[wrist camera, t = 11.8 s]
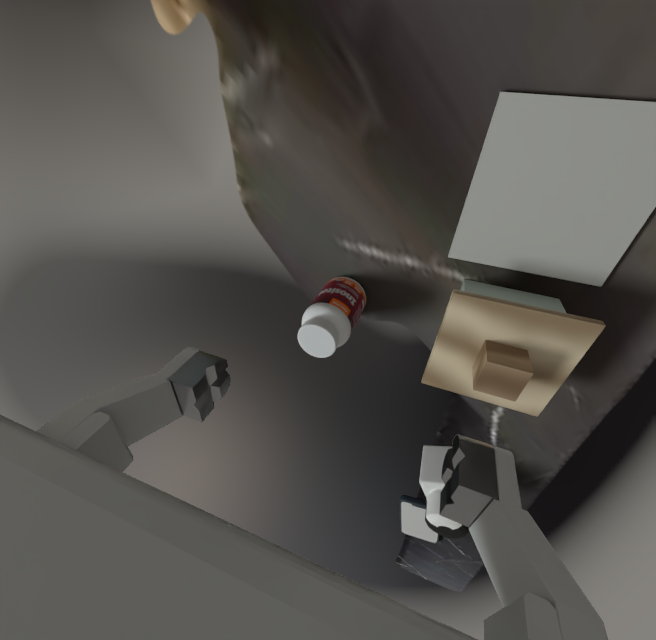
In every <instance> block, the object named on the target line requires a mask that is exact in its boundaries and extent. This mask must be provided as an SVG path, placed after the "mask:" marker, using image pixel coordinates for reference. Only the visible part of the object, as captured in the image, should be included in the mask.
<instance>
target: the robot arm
mask: <svg viewBox="0 0 656 640" xmlns="http://www.w3.org/2000/svg"><path fill="white" fill-rule="evenodd" d="M227 367H228V364H227V360H226V359H223V358H220V357H218V356H215V355H212V354H209V353H206V352H204V351H201V350H198V349H195V348H192V347H188V348H186V349H184V350H183V351H182V352H181V353H179V354H178V355H177V356H176V357H175V358H174V359H173V360H172V361H170V362H169V363H168V364H167V365H166V366H165V367H163V368H162V369H161V370H160V371H159V372H158V373H157V374H155V375H152V374H150V375H147V376H145V377H142V378H139V379H136V380H133V381H130V382H127V383H125V384H122V385H119V386H116V387H113V388H111V389H107V390H105V391H102V392H99V393H96V394H93V395H90V396H88V397H85V398H82V399H79V400H77V401H76V402H74V403H73V404H71V405H70V406H69V407H67V408H66V409H65V410H64V411H62V412H61V413H60V414H58V415H57V416H56V417H54V418H53V419H52V420H50V421H49V422H48V423H46V424H45V425H44V426H42V427H41V428H40V429H39V430H37V431H34V430H32V429H30V428H28V427H25V426H24V425H21V424H19V423H17V422H15V421H13V420H11V419H9V418H6V417H4V416H2V415H0V640H477V639H475V638H473V637H471V636H469V635H466V634H464V633H462V632H460V631H458V630H456V629H454V628H452V627H449V626H447V625H445V624H443V623H441V622H439V621H437V620H435V619H433V618H430V617H428V616H426V615H424V614H422V613H420V612H418V611H416V610H413V609H411V608H409V607H407V606H405V605H403V604H401V603H398V602H397V601H394V600H392V599H390V598H388V597H386V596H384V595H382V594H379V593H377V592H375V591H373V590H371V589H369V588H367V587H365V586H363V585H360V584H358V583H356V582H354V581H352V580H350V579H348V578H346V577H344V576H341V575H339V574H337V573H335V572H333V571H331V570H329V569H326V568H324V567H322V566H320V565H318V564H316V563H314V562H312V561H310V560H307V559H305V558H303V557H301V556H299V555H297V554H295V553H293V552H290V551H288V550H286V549H284V548H282V547H280V546H278V545H276V544H274V543H271V542H269V541H267V540H265V539H263V538H261V537H259V536H257V535H255V534H252V533H250V532H248V531H246V530H244V529H241V528H240V527H238V526H235V525H233V524H231V523H229V522H227V521H225V520H223V519H221V518H218V517H216V516H214V515H212V514H210V513H208V512H205V511H204V510H201V509H199V508H197V507H195V506H193V505H191V504H189V503H187V502H185V501H182V500H180V499H178V498H176V497H174V496H172V495H170V494H168V493H166V492H163V491H161V490H159V489H157V488H155V487H153V486H151V485H149V484H146V483H144V482H142V481H140V480H138V479H136V478H134V477H132V476H129V475H127V474H125V473H123V471H124V470H125V469H126V468H127V467H128V466H129V464H130V463H131V462H132V461H133V455H132V453H131V452H130V450H129V448H128V446H130V445H131V444H133V443H135V442H137V441H139V440H140V439H142V438H144V437H146V436H148V435H149V434H151V433H153V432H155V431H157V430H158V429H160V428H162V427H164V426H166V425H168V424H169V423H171V422H173V421H175V420H177V419H178V418H180V417H182V415H184V416H186V417H189V418H192V419H195V420H198V421H200V422H203V421H204V419H205V418H206V417H207V416H208V415H209V413H210V412H211V411H212V410H213V409H214V402H215V401H218V400H220V399H222V398H223V396H224V395H225V394H226V392H227V390H228V388H229V386H230V375H229V374H228V372H227V371H226V370H225V369H226V368H227ZM441 479H442V481H443V482H444V484H445V486H444V488H443V489H442V491H441V493H440V514H439V515H441V516H443V517H445V518H448V519H450V520H453V521H455V522H457V523H460V524H462V525H464V526H467V527H469V531H470V533H471V535H472V537H473V540H474V542H475V544H476V547H477V549H478V551H479V553H480V556H481V558H482V560H483V562H484V565H485V567H486V569H487V572H488V574H489V576H490V578H491V581H492V583H493V585H494V587H495V590H496V592H497V594H498V596H499V599H500V601H501V603H502V606H503V608H502V609H501V610H499V611H498V612H496V613H494V614H493V615H491V616H489V617H488V618H487V619H485V620H484V640H608V638H607V634H606V630H605V627H604V623H603V621H602V619H601V618H600V616H599V615H598V613H597V612H596V611H595V609H594V608H593V607H592V605H591V603H590V602H589V600H588V599H587V597H586V596H585V595H584V593H583V592H582V590H581V589H580V587H579V586H578V584H577V583H576V581H575V580H574V579H573V577H572V575H571V574H570V573H569V571H568V570H567V568H566V567H565V565H564V564H563V562H562V561H561V559H560V558H559V556H558V555H557V554H556V552H555V551H554V549H553V548H552V546H551V545H550V543H549V542H548V540H547V539H546V538H545V536H544V535H543V533H542V532H541V530H540V529H539V527H538V526H537V524H536V523H535V521H534V520H533V519H532V517H531V516H530V514H529V513H528V511H525V510H523V509H522V507H521V501H520V494H519V488H518V481H517V474H516V468H515V461H514V456H513V454H512V452H510V451H507V450H504V449H501V448H498V447H495V446H492V445H490V444H487V443H484V442H480V441H477V440H474V439H471V438H468V437H464V436H461V435H458V434H457V435H456V436H455V438H454V439H453V445H452V448H450V449H448V451H447V453H446V455H445V458H444V461H443V466H442V476H441Z"/></svg>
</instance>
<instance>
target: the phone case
mask: <svg viewBox="0 0 656 640" xmlns="http://www.w3.org/2000/svg"><path fill="white" fill-rule="evenodd" d="M426 502H427V501H425V500H421V499H418V498H414V497H411V496H407V495H402V496H401V497H400V505H399V510H400V530H401V532H402V533H404V534H407V535H410V536H413V537H416V538H419V539H422V540H426V541H429V542H432V543H438V542H439V534H437V533H436V532H434V531H433V530H431V529H430V528H429V527H428V525H427V524H426V522H425V513H426Z"/></svg>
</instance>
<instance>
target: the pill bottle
mask: <svg viewBox="0 0 656 640" xmlns="http://www.w3.org/2000/svg"><path fill="white" fill-rule="evenodd" d="M365 304H366V294H365V291H364V289H363V288H362V286H361V285H360V284H359V283H358V282H357V281H355V280H353V279H351V278H348V277H337V278H334V279H332V280H330V281H329V282H328V283H327V284H326V285H325V287H324V288H323V289H322V290H321V292H320V293H319V294H318V296H317V297H316V298H315V299H314V301H313V302H312V303H311V305H310V306H309V307H308V308H307V310H306V311H305V313H304V315H303V318H302V327H301V328H300V330H299V332H298V342H299V344H300V345H301V347H302V348H303V349H304V350H305V351H306V352H307V353H308V354H310V355H312V356H315V357H319V358H325V357H328V356H330V355H332V354H333V353H334V351H335V350H336V348H337V347H339V346H341V345H343V344H344V343H345V342H346V341H347V340H348V338H349V336H350V335H351V332H352V331H353V329H354V327H355V325H356V323H357V321H358V319H359V317H360V315H361V313H362V311H363V309H364V307H365Z"/></svg>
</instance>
